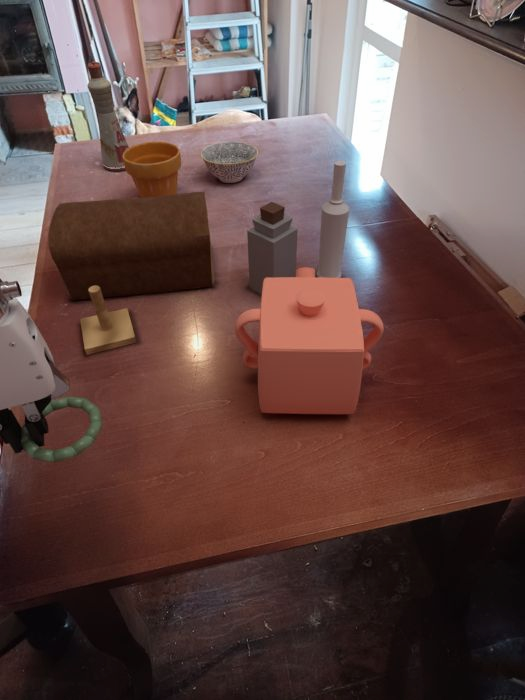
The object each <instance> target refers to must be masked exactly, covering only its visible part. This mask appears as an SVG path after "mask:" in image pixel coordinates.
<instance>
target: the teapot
mask: <svg viewBox="0 0 525 700" xmlns="http://www.w3.org/2000/svg"><path fill="white" fill-rule="evenodd" d="M253 322H258V323H259V324H258V325H259V327H258V341H257V342H258V343H257V342H256V341H255V340H254V339H253V338H252V336H250V334H249V333H248V332H247V331H246V329H245V327H244V326H245V325H247V324H251V323H253ZM362 323H367V324H370V325H373V326H374V327H373V328H372V330H371V331H370V332H369V333H368V334H367V335H366V336H365V337H364V333H363V327H362ZM384 327H385V326H384V323H383V321H382V319H381V317H380V316H379V315H378V314H377V313H376V312H374V311H372V310H370V309H366V308H365V309H364V308H359V303H358V298H357V293H356V288H355V284H354V281H353V279H352V278H351V277H341V278H323V277H317V276H316V268H313V267H309V266H307V267H306V266H303V267H298V268H297V267H296V276H295V277H276V278H265V279H264V281H263V288H262V295H261V299H260V308H252V309H251V308H250V309H247V310H246V311H244V312H242V313H241V314H239V316H238V317H237V319H236V320H235V323H234V332H235V336H236V337H237V339H238V341H239V342H240V343H241V345H242V346H243V347H244V348H245V350H244V352H243V354H242V361H243V363H244V365H245V366H246V367H247V368H250V369H257V391H258V403H259V408H260V409H259V410H260V412H261V413H263V414H286V415H287V414H290V415H292V414H295V415H354V414H355V412H356V409H357V406H358V403H359V398H360V393H361V385H362V377H363V370H365V369H367V368H368V367H369V366H370V365H371V364H372V363H371V362H372V355H371V353H370V352H369V351H370V350H371V349H372V348H373V347H374V346H375V345H377V343H378V342H379V341H380V340H381V338H382V337H383V334H384V331H385V329H384Z"/></svg>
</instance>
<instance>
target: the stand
mask: <svg viewBox="0 0 525 700" xmlns="http://www.w3.org/2000/svg"><path fill="white" fill-rule="evenodd" d="M88 291H89V294H90V297H91V299H90V300H91V302H92V305H93V309H94V311H95V315H91V316H86V317H82V318H80V319H79V320H80V321H79V322H80V329H81V335H82V342H83V348H84V351H85V355H86V356H89V355H92V354H96V353H101V352H105V351H110V350H113V349H116V348H120V347H124V346H129V345H132V344H137V339H136V335H135V331H134V327H133V323H132V320H131V316H130V313H129V310H128V309H129V308H128V307H125V308H122V309H121V308H120V309H117V310H113V311H108V308H107V305H106V301H105V299H104V298H105V297H103V295H102V292H101V289H100V287H99V286H91V287H90V288H89V289H88Z"/></svg>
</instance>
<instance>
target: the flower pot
mask: <svg viewBox="0 0 525 700" xmlns="http://www.w3.org/2000/svg"><path fill="white" fill-rule="evenodd" d="M122 157H123V161H124V165H125V171H126V173H127V174H128V175H129V176H130V177H131V179H132V181H133V184H134V186H135V188H136V190H137V193H138V195H139V198H146V197H157V196H165V195H175V194H178V192H177V191H178V179H179V178H178V177H179V171H180V169H181V167H182V156H181V150H180V148H179V147H178V146H177V145H176V144H173V143H171V142H166V141H146V142H142V143H138V144H135V145H132V146H129V148H128V149H127V150H125V151H124V153H123V155H122Z"/></svg>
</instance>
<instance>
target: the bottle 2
mask: <svg viewBox="0 0 525 700" xmlns="http://www.w3.org/2000/svg"><path fill="white" fill-rule="evenodd" d="M346 168H347V163H346V162H345V161H344V160H336V161H334V163H333V172H332V173H333V175H332V187H331V197H329V199H328V200H327V201H326V202H325V203H324V204H322V206H321V215H320V216H321V217H320V233H319V234H320V235H319V253H318V267H317V268H318V269H317V271H316V277H323V278H342V264H343V258H344V252H345V251H344V249H345V244H346V236H347V229H348V224H349V216H350V210H351V209H350V206H349V205H348V204H347V203H346V202H345V199H344V197H343V193H344V184H345V176H346Z"/></svg>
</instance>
